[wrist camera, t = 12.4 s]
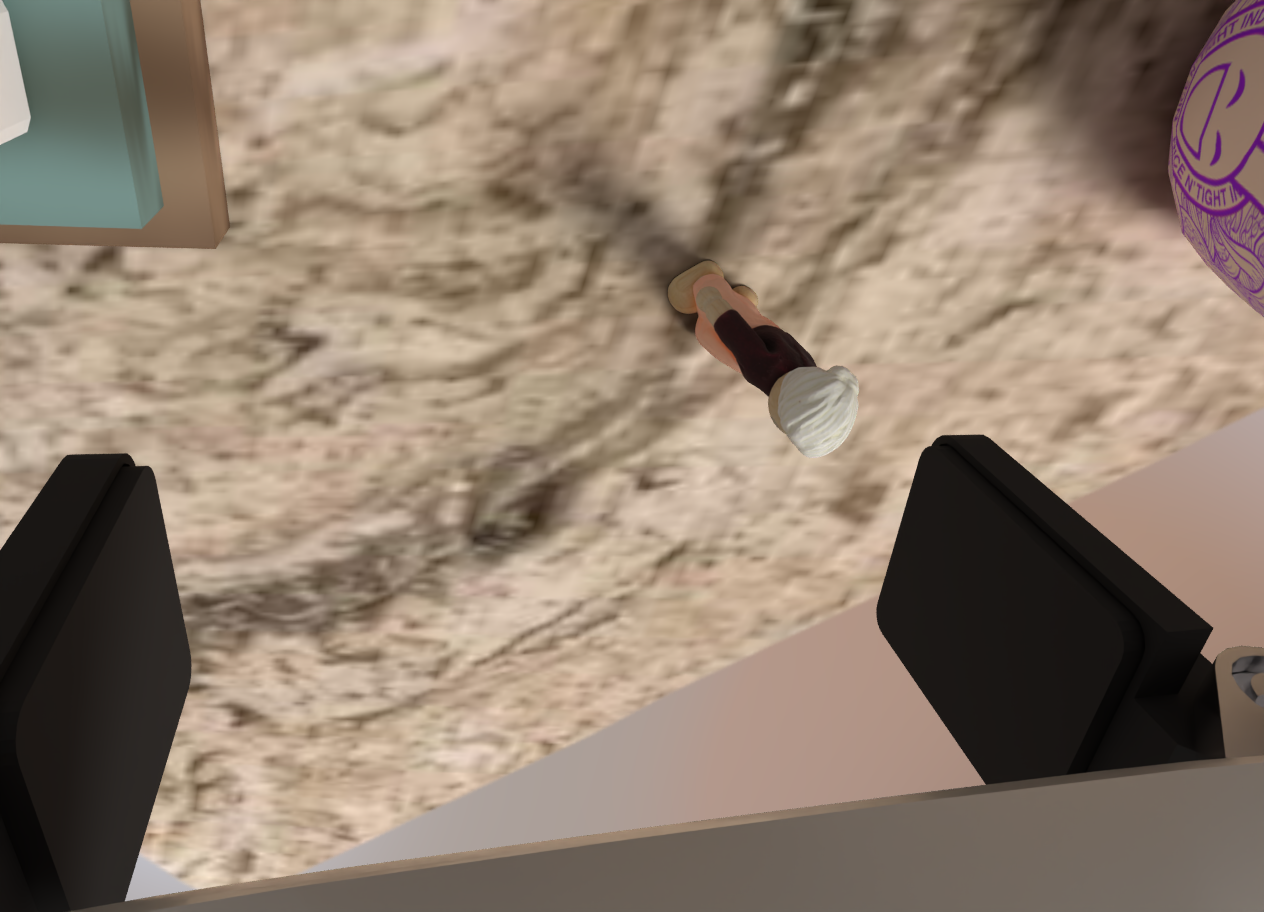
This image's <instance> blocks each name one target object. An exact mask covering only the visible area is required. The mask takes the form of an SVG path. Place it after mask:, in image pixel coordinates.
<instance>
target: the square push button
mask: <svg viewBox="0 0 1264 912" xmlns="http://www.w3.org/2000/svg"><path fill="white" fill-rule="evenodd" d="M2 1H3V3H4V5H5V7H6V9H7V10H8V13H9V17H10V22H11V27H12V31H13V36H14V41H15V45H16V50H17V55H18V59H19V64H20V69H21V74H22V78H23V83H24V88H25V92H26V97H27V102H28V106H29V111H30V116H31V119H30V123H29V127H28V131H27V132H26V133H24V134H22V135H20V136H18V137H16V138H14V139H12V140H9V141H7V142H5V143H3V144H1V145H0V243H18V244H55V245H92V246H128V247H165V248H202V249H216V247H217V246H218V244H219V243H220V241H221V240H222V238H223V237H224V235H225V234H226V232H227V231H228V229H229V228H230V223H229V216H228V208H227V201H226V193H225V185H224V178H223V170H222V162H221V155H220V147H219V140H218V132H217V124H216V117H215V109H214V102H213V94H212V86H211V79H210V71H209V64H208V56H207V48H206V41H205V33H204V25H203V18H202V10H201V3H200V0H2Z"/></svg>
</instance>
